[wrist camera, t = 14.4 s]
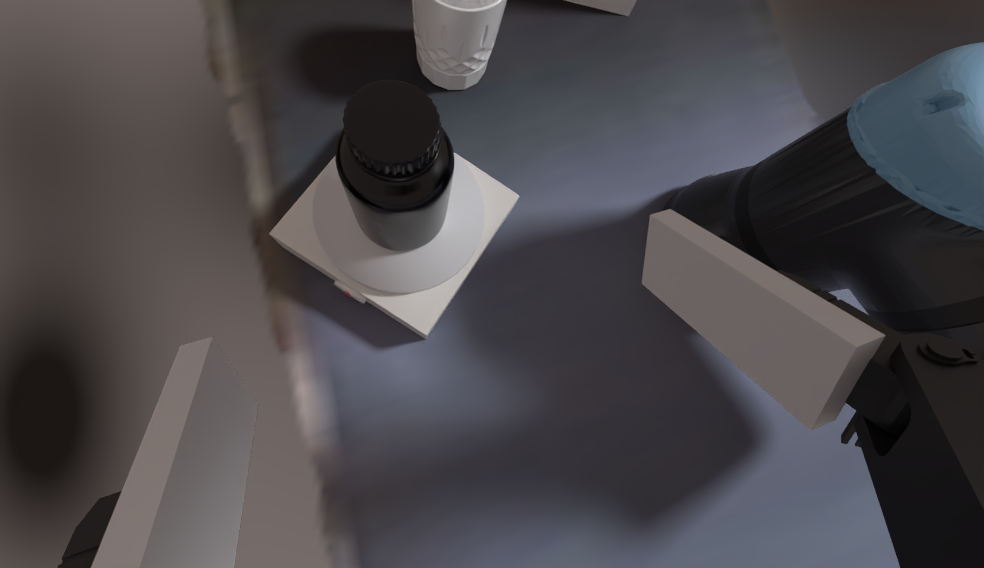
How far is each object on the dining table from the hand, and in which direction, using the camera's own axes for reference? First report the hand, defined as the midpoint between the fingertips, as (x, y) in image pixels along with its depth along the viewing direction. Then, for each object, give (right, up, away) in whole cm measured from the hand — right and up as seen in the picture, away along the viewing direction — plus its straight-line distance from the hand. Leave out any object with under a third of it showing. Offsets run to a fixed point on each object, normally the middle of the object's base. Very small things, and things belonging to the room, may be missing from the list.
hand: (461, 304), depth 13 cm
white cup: (-3, +22, +29) cm, 37 cm away
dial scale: (-7, +5, +24) cm, 26 cm away
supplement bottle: (-6, +6, +20) cm, 22 cm away
